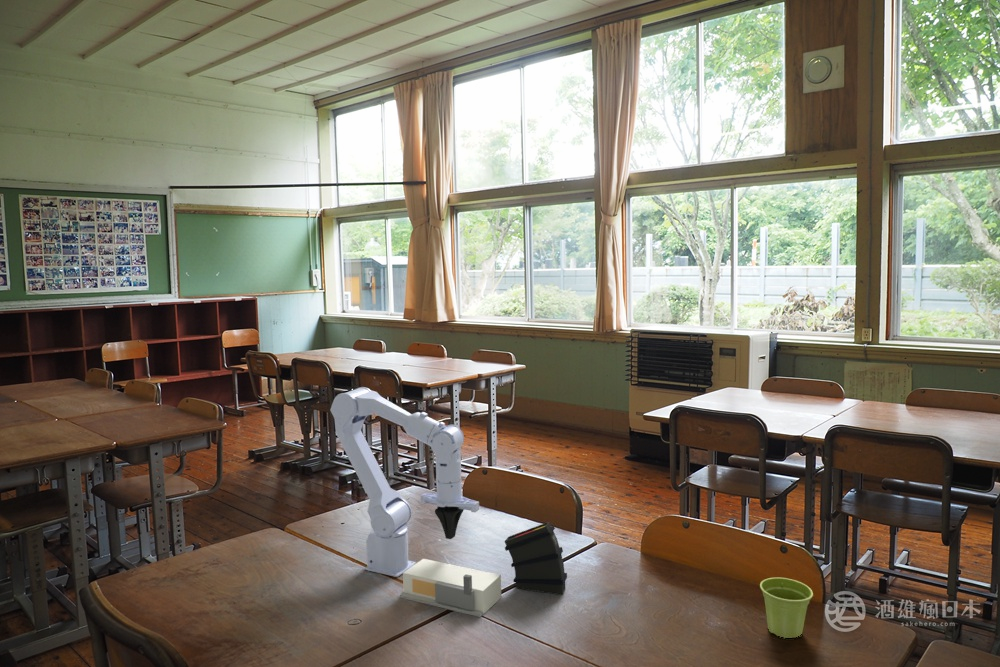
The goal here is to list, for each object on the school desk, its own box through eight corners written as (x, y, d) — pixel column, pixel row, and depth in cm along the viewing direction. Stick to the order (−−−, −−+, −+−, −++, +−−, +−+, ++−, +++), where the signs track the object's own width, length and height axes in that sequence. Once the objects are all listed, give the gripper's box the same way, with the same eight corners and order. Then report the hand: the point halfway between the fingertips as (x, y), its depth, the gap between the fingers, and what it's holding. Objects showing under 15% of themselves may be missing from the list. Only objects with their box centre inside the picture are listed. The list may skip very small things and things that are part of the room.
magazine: (576, 591, 147) (546, 526, 148) (524, 607, 151) (495, 545, 152) (580, 583, 150) (551, 520, 151) (529, 600, 155) (501, 539, 156)
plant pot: (806, 621, 136) (807, 579, 135) (816, 647, 127) (818, 602, 126) (756, 616, 138) (756, 575, 137) (763, 642, 129) (763, 597, 128)
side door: (434, 602, 145) (433, 569, 144) (437, 599, 146) (436, 567, 145) (471, 611, 140) (470, 577, 140) (474, 608, 142) (473, 575, 141)
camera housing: (399, 597, 149) (399, 575, 149) (423, 579, 157) (423, 558, 157) (480, 617, 140) (479, 593, 139) (501, 597, 148) (500, 575, 148)
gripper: (412, 480, 156) (414, 538, 157) (467, 489, 149) (469, 549, 151) (429, 472, 162) (431, 527, 164) (483, 479, 156) (484, 537, 157)
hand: (450, 537), depth 158 cm, fingers closed
